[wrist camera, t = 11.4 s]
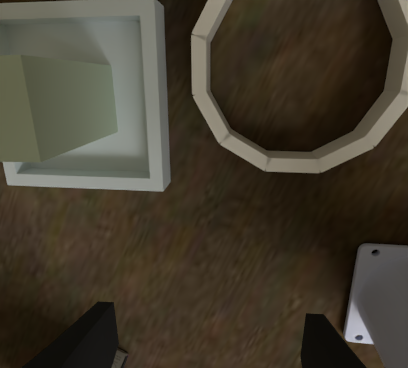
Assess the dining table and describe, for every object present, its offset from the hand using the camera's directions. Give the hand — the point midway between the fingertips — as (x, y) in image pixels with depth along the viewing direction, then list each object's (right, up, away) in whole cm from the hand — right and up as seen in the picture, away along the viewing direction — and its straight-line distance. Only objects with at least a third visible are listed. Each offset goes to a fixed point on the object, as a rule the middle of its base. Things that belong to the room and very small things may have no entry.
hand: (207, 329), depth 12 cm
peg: (-8, +11, +8) cm, 15 cm away
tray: (-8, +11, +8) cm, 16 cm away
